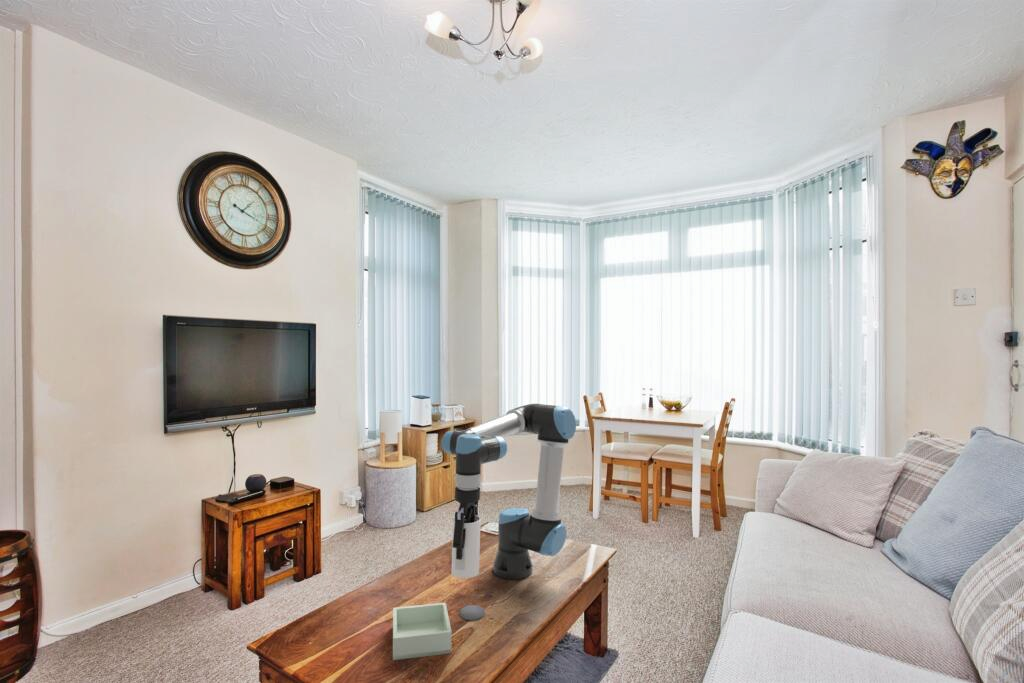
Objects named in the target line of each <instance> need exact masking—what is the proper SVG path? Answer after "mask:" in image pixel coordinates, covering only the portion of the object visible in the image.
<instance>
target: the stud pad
mask: <svg viewBox="0 0 1024 683" xmlns="http://www.w3.org/2000/svg"><path fill="white" fill-rule="evenodd" d="M485 613H486V611H485V609H484V608H483V607H482V606H480V605H477V604H476V605H475V604H469V605H466V606H463V607H462V608H461V609H460V610H459V616H460V618H461V619H463V620H465V621H478V620H480V619H482V618H483V617H484V616H485Z"/></svg>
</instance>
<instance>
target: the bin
mask: <svg viewBox="0 0 1024 683" xmlns="http://www.w3.org/2000/svg"><path fill="white" fill-rule="evenodd" d="M447 606H448V605H447V602H439V603H438V602H437V603H428V604H420V605H417V604H416V605H409V606H399V607H398V606H397V607H393V608H392V661H399V660H405V659H415V658H423V657H431V656H438V655H440V656H441V655H447V654H448V655H449V654H452V637H453V636H452V634H453V633H452V626H451V623H450V617H449V612H448V607H447Z"/></svg>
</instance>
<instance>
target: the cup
mask: <svg viewBox="0 0 1024 683" xmlns="http://www.w3.org/2000/svg"><path fill="white" fill-rule="evenodd" d="M454 527H455V516H453V518H452V540H451V541H452V542H451V543H452V544H451V546H452V547H451V571H450V572H451V575H452V576H454V577H455V578H459V579H471V578H475V577H476V576H478V575H479V574H480V549H481V548H480V547H481V546H480V544H481V517H480V516H479V515H478V516H477V515H475V518H474V522H473V523H464V529H465V528H466V538H465V544H464V547H465V570H457V569H455V558H456V548H453V538H454Z"/></svg>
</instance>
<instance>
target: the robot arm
mask: <svg viewBox="0 0 1024 683" xmlns="http://www.w3.org/2000/svg"><path fill="white" fill-rule="evenodd" d="M576 428H577V421H576V417H575V414H574V413H573V411H572V410H571V408H569V407H566V406H562V405H561V406H560V405H554V404H553V405H552V404H543V403H541V404H540V403H530V404H524V405H522V406H518V407H514V408H513V409H509V410H508V411H507V412H506V413H505V414H503V415H502V416H499V417H496V418H493V419H491V420H488V421H485V422H482V423H480V424H477V425H474V426H472V427H469V428H466V429H464V430H460V431H457V430H448V431H446V432H445V433H444V434H443V436H442V438H441V442H440V443H441V448H442V450H443V451H444V452H445V453H446V454H450V455H452V456H455V474H454V475H453V476H454V478H455V479H454V480H455V484H454V486H455V488H454V500H455V501H456V502H458V503H459V507H458V511H455V512H454V517H455V527H454V538H453V548H456V558H455V569H457V570H465V547H464V544H465V538H466V528H465V529H464V523H473V522H474V518H475V515H477V516H479V506H478V505H479V501H480V500H481V488H480V486H481V477H482V476H481V475H482V473H481V470H482V469H481V468H482V465H483V464H487V463H491V462H496V461H498V460H500V459H503V458H504V457H505V456H506V454H507V452H508V444H507V441H506V440H505V439H504V438H505V437H509V436H510V435H520V434H522V433H523V434H524V433H528V434H533V435H537V441H538V442H539V444H540V452H539V453H540V454H539V463H538V473H537V483H536V495H535V502H534V504H535V506H534V510H532V511H531V512H530V511H529V509H527V508H525V507H513V508H508V509H507V508H506V509H505V510H503V511H501V512H500V513H499V515H498V530H497V531H498V536H497V537H498V540H497V545H498V547H497V551H496V554H495V557H494V561H493V565H492V567H493V568H492V571H493V573H494V574H495V575H496V576H498V577H499V578H502V579H507V580H519V579H520V580H522V579H525V578H528V577H530V576H531V575H532V573H533V563H532V560H531V556H530V555H531V554H530V552H529V551H531V552H534V553H538V554H541V555H542V556H549V557H554V556H557V555H558V554H559V553H560V552H561V550H562V549H563V547H564V545H565V543H566V539H567V527H566V526H565V524H563V523H562V516H561V515H560V514H559V504H560V503H559V502H560V491H561V481H562V472H563V471H562V470H563V458H564V448H565V446H567V445H568V444H569V440H571V439H573V438H574V436H575V433H576V431H577V430H576Z"/></svg>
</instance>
